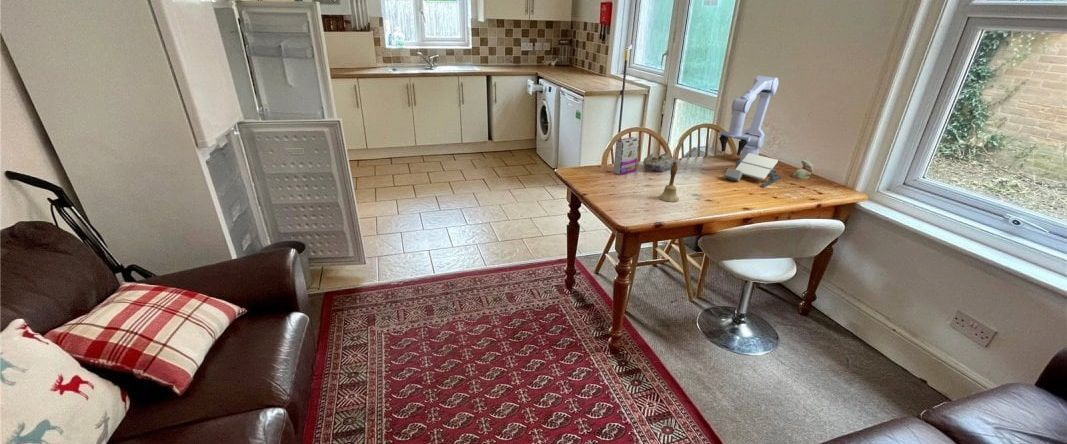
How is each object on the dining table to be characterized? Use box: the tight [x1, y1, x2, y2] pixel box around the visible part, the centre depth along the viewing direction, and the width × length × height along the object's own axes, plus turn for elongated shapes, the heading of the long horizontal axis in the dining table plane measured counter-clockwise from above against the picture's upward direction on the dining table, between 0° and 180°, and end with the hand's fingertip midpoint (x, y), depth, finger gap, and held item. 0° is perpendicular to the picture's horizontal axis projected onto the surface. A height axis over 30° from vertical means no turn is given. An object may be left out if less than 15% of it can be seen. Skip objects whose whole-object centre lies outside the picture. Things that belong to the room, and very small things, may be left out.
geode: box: [642, 152, 677, 173], centre depth 227 cm, size 17×9×15 cm
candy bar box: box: [612, 136, 640, 176], centre depth 220 cm, size 11×5×16 cm, turn 126°
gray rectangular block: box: [724, 167, 743, 183], centre depth 215 cm, size 4×4×6 cm
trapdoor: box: [734, 153, 779, 181], centre depth 217 cm, size 14×14×1 cm
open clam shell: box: [791, 157, 815, 180], centre depth 221 cm, size 6×8×10 cm
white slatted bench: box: [734, 159, 782, 189], centre depth 219 cm, size 20×18×6 cm
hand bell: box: [658, 161, 680, 203], centre depth 190 cm, size 8×8×16 cm
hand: (730, 152), depth 221 cm, fingers open, 7 cm apart
